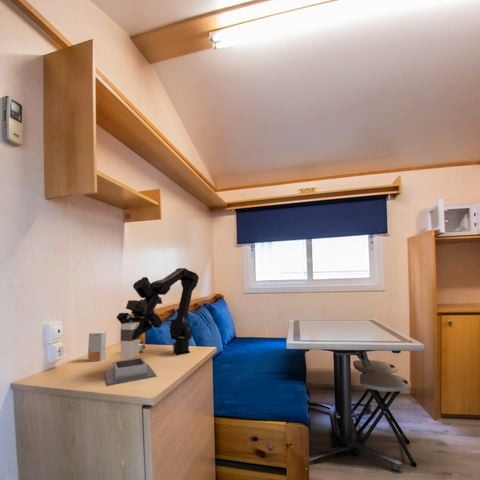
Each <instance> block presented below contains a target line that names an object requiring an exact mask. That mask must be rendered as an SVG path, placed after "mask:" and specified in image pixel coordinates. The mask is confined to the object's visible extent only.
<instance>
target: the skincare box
mask: <svg viewBox="0 0 480 480" xmlns="http://www.w3.org/2000/svg"><path fill="white" fill-rule="evenodd" d="M106 342H107V331H92V332H89V333H88V344H87V345H88V347H87V361H88V362H95V361H97V362H101V361H103V360H104V359H106V350H107V349H106V344H107V343H106Z"/></svg>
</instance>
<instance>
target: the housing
mask: <svg viewBox="0 0 480 480" xmlns="http://www.w3.org/2000/svg"><path fill="white" fill-rule="evenodd" d="M104 376H105V377H104V378H105V381H106V386H112V385H118V384H123V383H130V382H133V381H135V382H136V381H139V380H140V381H141V380H145V379H151V378H155V377H156V378H157V374H156V372H155V371H154V370H153V369H152V368H151V366H150V365H149V363H147V362H146V361H145V359H144V357H137V358H129V359H124V360H118V361H116V360H115V361H112V369H109V370H104ZM129 381H130V382H129Z"/></svg>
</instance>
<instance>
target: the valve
mask: <svg viewBox="0 0 480 480" xmlns="http://www.w3.org/2000/svg"><path fill="white" fill-rule="evenodd" d="M141 342H142V340H141V338H140V339H139V353H144V351H145V350H146V344H145V343H141Z"/></svg>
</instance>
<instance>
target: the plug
mask: <svg viewBox="0 0 480 480" xmlns="http://www.w3.org/2000/svg"><path fill="white" fill-rule="evenodd" d="M138 326H139V322H129V323H124V324H121V329H120V358H122V359H134V358H135V357H137V356H140V352H139V339H140V340H141V338H140V336H141V335H140V336H139V337H137V338H136V339H134V340H133V339H132V337H133V335H134V333H135V331H136V329H137V327H138Z"/></svg>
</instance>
